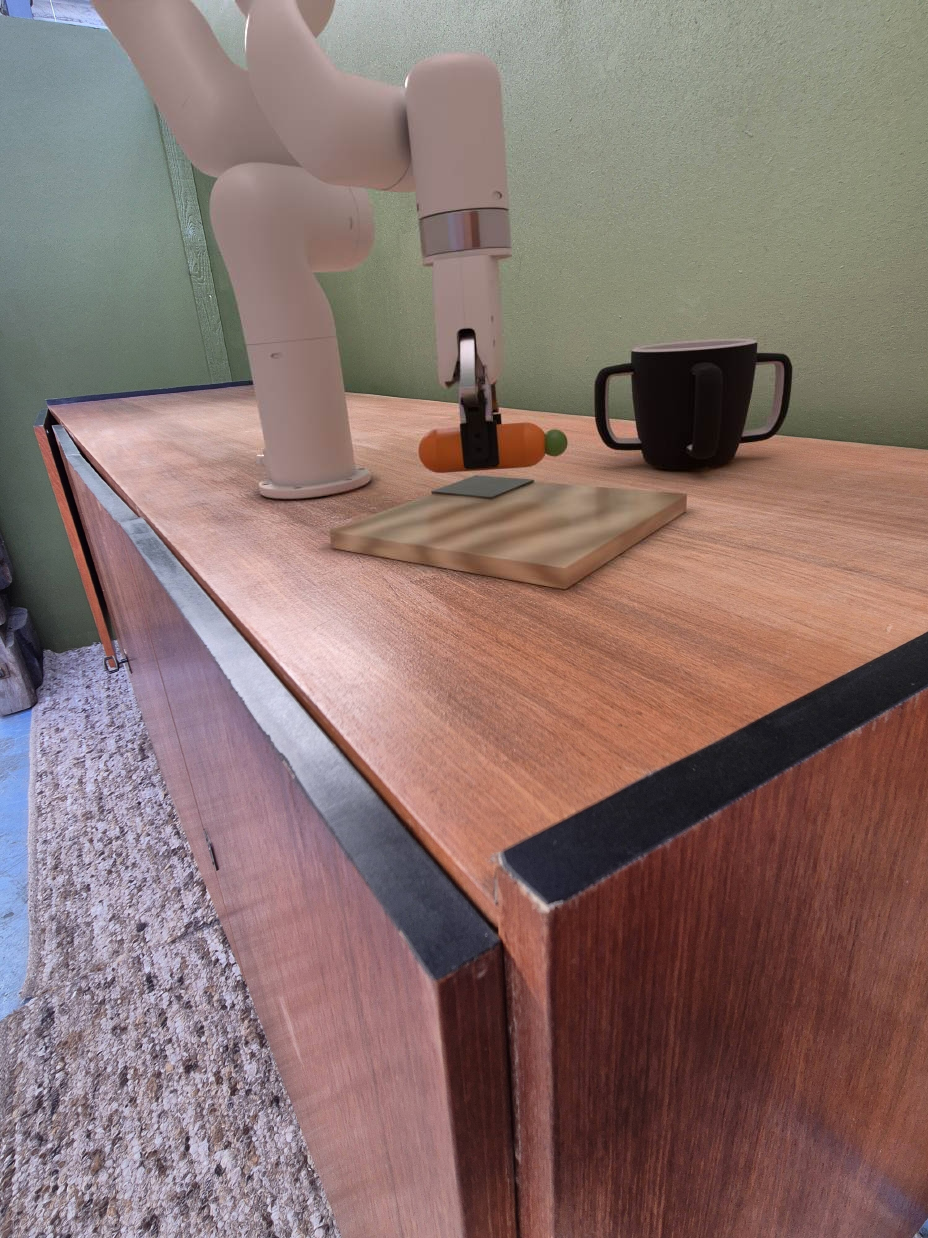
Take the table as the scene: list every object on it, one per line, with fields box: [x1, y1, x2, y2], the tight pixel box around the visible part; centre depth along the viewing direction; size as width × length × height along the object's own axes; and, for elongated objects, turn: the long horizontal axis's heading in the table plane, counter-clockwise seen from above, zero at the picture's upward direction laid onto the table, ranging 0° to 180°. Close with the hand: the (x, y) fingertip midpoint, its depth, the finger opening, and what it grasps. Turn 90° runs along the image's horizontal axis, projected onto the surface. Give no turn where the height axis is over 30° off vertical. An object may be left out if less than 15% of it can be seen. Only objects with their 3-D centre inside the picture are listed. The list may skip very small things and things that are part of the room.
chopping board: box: [328, 474, 688, 590], centre depth 59 cm, size 22×20×2 cm
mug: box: [593, 338, 793, 471], centre depth 74 cm, size 16×16×12 cm
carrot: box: [417, 422, 569, 474], centre depth 66 cm, size 14×4×4 cm, turn 83°
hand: (484, 460), depth 66 cm, fingers closed on carrot, 4 cm apart
